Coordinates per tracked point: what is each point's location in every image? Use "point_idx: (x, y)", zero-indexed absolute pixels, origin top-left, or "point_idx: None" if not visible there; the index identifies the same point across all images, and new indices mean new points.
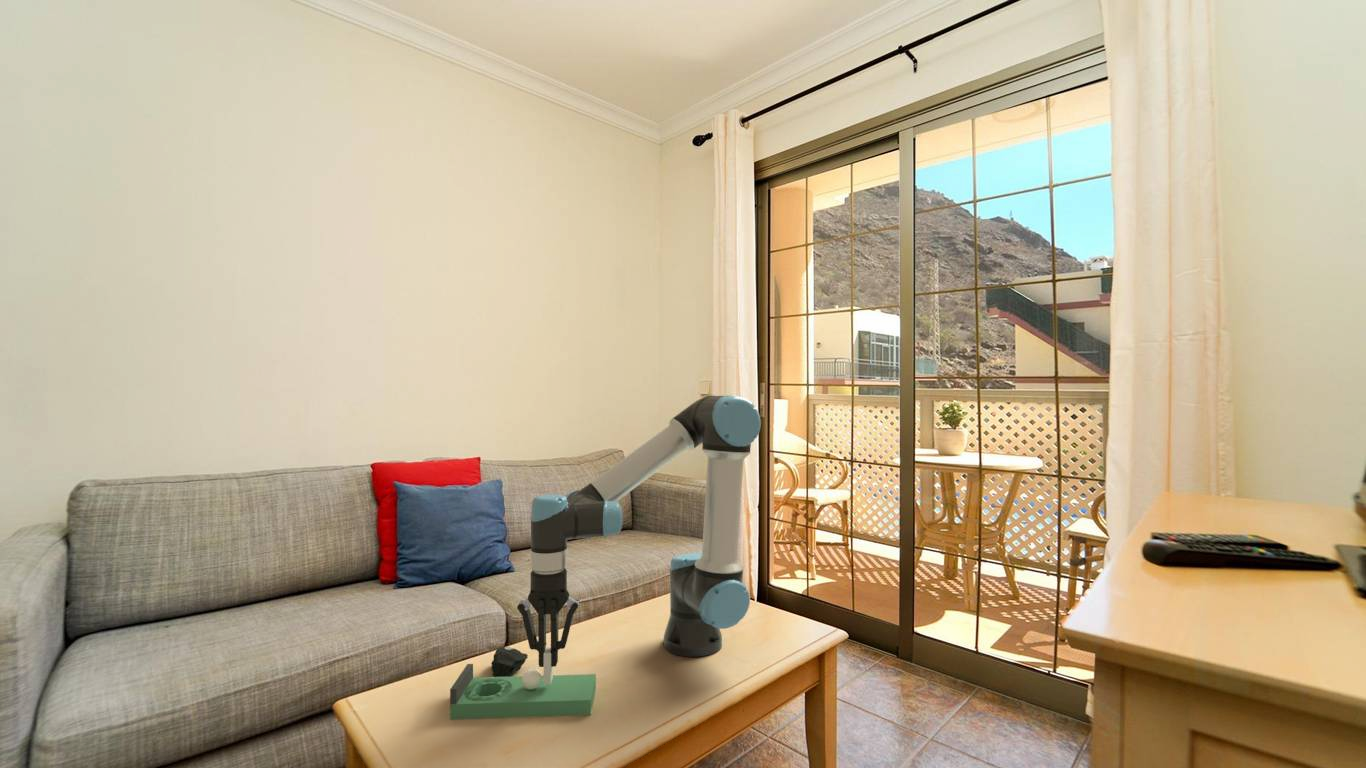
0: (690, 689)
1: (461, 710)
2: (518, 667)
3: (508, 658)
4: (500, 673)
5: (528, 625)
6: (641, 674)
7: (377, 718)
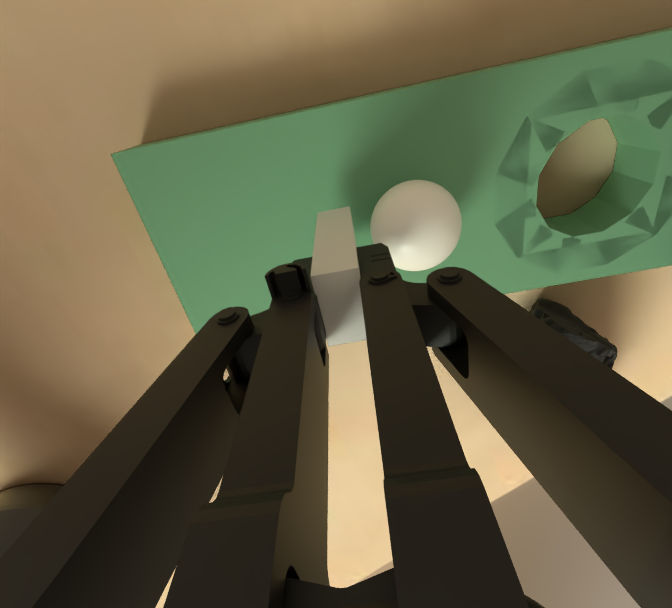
0: None
1: None
2: None
3: None
4: (561, 318)
5: (578, 392)
6: (117, 399)
7: None
